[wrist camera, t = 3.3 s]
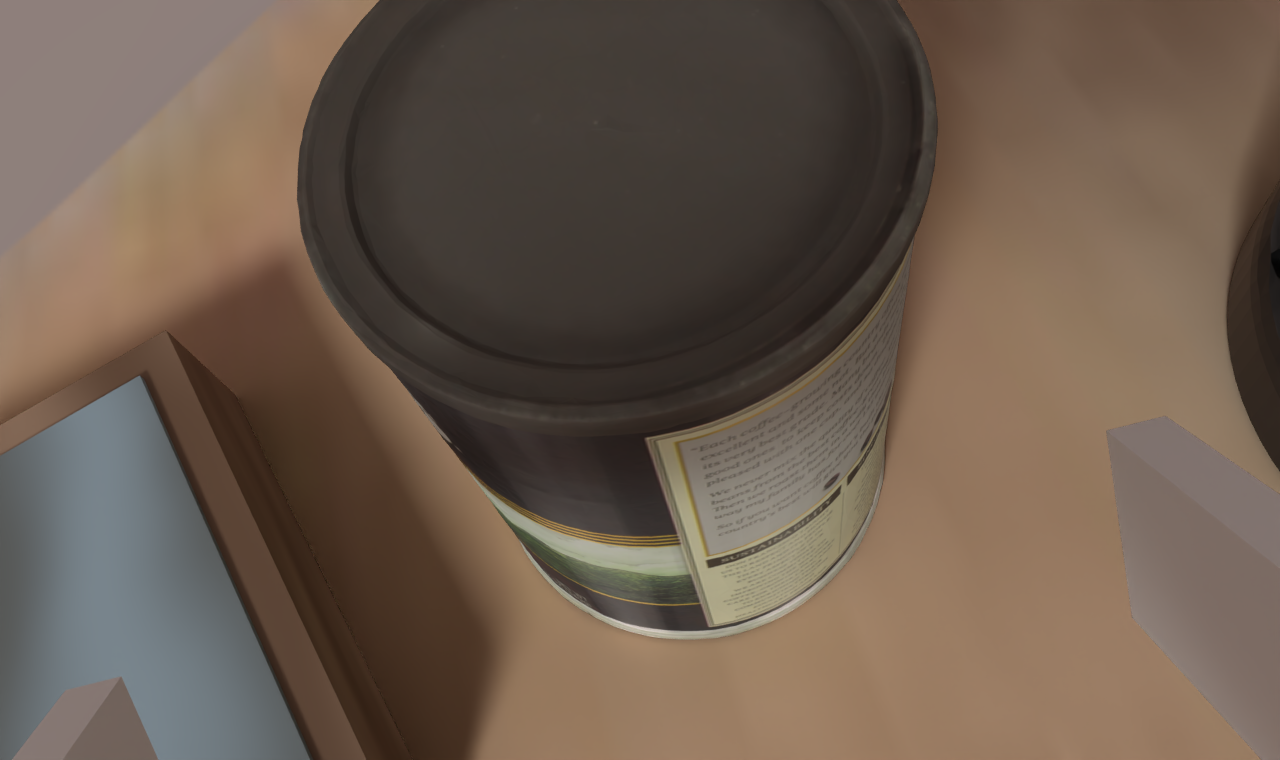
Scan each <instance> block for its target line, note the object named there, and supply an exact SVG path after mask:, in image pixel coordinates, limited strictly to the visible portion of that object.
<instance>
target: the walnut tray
mask: <svg viewBox="0 0 1280 760" xmlns="http://www.w3.org/2000/svg"><path fill="white" fill-rule="evenodd" d="M120 676H121V677H122V679H123V681H124V683H125V686H126V688H127V690H128V692H129V695H130V697H131V699H132V701H133V704H134V706H135V708H136V710H137V713H138V715H139V717H140V719H141V722H142V724H143V726H144V728H145V731H146V733H147V735H148V737H149V740H150V742H151V744H152V746H153V749H154V751H155V753H156V756H157V758H158V760H412V758H411V756H410V754H409V752H408V750H407V748H406V746H405V744H404V741H403V739H402V737H401V735H400V733H399V731H398V729H397V727H396V725H395V723H394V721H393V719H392V717H391V715H390V713H389V711H388V709H387V707H386V704H385V702H384V700H383V698H382V696H381V694H380V692H379V690H378V688H377V686H376V684H375V682H374V680H373V678H372V676H371V674H370V672H369V670H368V667H367V665H366V663H365V661H364V659H363V657H362V655H361V653H360V651H359V649H358V647H357V645H356V643H355V641H354V639H353V637H352V635H351V633H350V630H349V628H348V626H347V624H346V622H345V620H344V618H343V616H342V614H341V612H340V610H339V608H338V606H337V604H336V602H335V600H334V598H333V596H332V593H331V591H330V589H329V587H328V585H327V583H326V581H325V579H324V577H323V575H322V573H321V571H320V569H319V567H318V565H317V563H316V561H315V558H314V556H313V554H312V552H311V550H310V548H309V546H308V544H307V542H306V540H305V538H304V536H303V534H302V532H301V530H300V528H299V526H298V524H297V521H296V519H295V517H294V515H293V513H292V511H291V509H290V507H289V505H288V503H287V501H286V499H285V497H284V495H283V493H282V491H281V489H280V487H279V484H278V482H277V480H276V478H275V476H274V474H273V472H272V470H271V468H270V466H269V464H268V462H267V460H266V458H265V456H264V454H263V452H262V450H261V447H260V445H259V443H258V441H257V439H256V437H255V435H254V433H253V431H252V429H251V427H250V425H249V423H248V421H247V419H246V417H245V415H244V413H243V410H242V408H241V406H240V404H239V402H238V400H237V398H236V396H235V394H233V393H232V392H231V391H230V390H229V389H228V388H227V387H226V386H225V385H224V384H223V383H222V382H221V381H220V380H219V379H217V378H216V377H215V376H214V375H213V374H212V373H211V372H210V371H209V370H208V369H207V368H206V367H205V366H204V365H203V364H201V363H200V362H199V361H198V360H197V359H196V358H195V357H194V356H193V355H192V354H191V353H190V352H189V351H188V350H187V349H185V348H184V347H183V346H182V345H181V344H180V343H179V342H178V341H177V340H176V339H175V338H174V337H173V336H172V335H171V334H169V333H168V332H167V331H166V330H165V331H163V332H162V333H160V334H158V335H156V336H155V337H153V338H151V339H149V340H148V341H146V342H144V343H142V344H141V345H139V346H137V347H136V348H134V349H132V350H130V351H129V352H127V353H125V354H123V355H122V356H120V357H118V358H116V359H115V360H113V361H111V362H109V363H108V364H106V365H104V366H102V367H101V368H99V369H97V370H95V371H94V372H92V373H90V374H88V375H87V376H85V377H83V378H81V379H80V380H78V381H76V382H74V383H73V384H71V385H69V386H67V387H66V388H64V389H62V390H60V391H59V392H57V393H55V394H53V395H52V396H50V397H48V398H46V399H45V400H43V401H41V402H39V403H38V404H36V405H34V406H32V407H31V408H29V409H27V410H25V411H24V412H22V413H20V414H18V415H17V416H15V417H13V418H12V419H10V420H8V421H6V422H5V423H3V424H1V425H0V760H12V759H13V758H14V756H15V755H16V754H17V752H18V751H19V750H20V748H21V747H22V746H23V745H24V743H25V742H26V741H27V739H28V738H29V737H30V736H31V734H32V733H33V732H34V730H35V729H36V728H37V726H38V725H39V724H40V723H41V721H42V720H43V719H44V717H45V716H46V715H47V714H48V712H49V711H50V710H51V708H52V707H53V706H54V704H55V703H56V702H57V701H58V699H59V698H60V697H61V695H62V694H63V693H64V692H65V690H68V689H72V688H76V687H80V686H84V685H88V684H92V683H96V682H100V681H104V680H108V679H112V678H116V677H120Z"/></svg>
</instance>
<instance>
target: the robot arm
mask: <svg viewBox="0 0 1280 760" xmlns="http://www.w3.org/2000/svg"><path fill="white" fill-rule="evenodd" d="M1227 322H1228V341H1229V348H1230V356H1231V362H1232V366H1233V370H1234V375H1235V379H1236V382H1237V386H1238V389H1239V392H1240V395H1241V398H1242V401H1243V404H1244V406H1245V408H1246V411H1247V413H1248V416H1249V418H1250V421H1251V423H1252V425H1253V427H1254V429H1255V431H1256V433H1257V435H1258V437H1259V439H1260V441H1261V442H1262V444H1263V446H1264V447H1265V449H1266V451H1267V452H1268V454H1269V456H1270V458H1271V459H1272V461H1273V462H1274V464H1275V465H1276V467H1277V468H1278V469H1279V471H1280V181H1279V182H1278V184H1277V186H1276V187H1275V189H1274V190H1273V192H1272V194H1271V195H1270V197H1269V199H1268V200H1267V202H1266V204H1265V205H1264V207H1263V209H1262V210H1261V212H1260V214H1259V215H1258V217H1257V219H1256V220H1255V222H1254V224H1253V225H1252V227H1251V229H1250V231H1249V232H1248V235H1247V237H1246V239H1245V241H1244V243H1243V245H1242V248H1241V250H1240V253H1239V256H1238V259H1237V262H1236V265H1235V268H1234V272H1233V277H1232V281H1231V286H1230V293H1229V300H1228V319H1227ZM1106 432H1107V439H1108V447H1109V454H1110V461H1111V468H1112V476H1113V483H1114V490H1115V497H1116V505H1117V512H1118V519H1119V526H1120V534H1121V541H1122V548H1123V555H1124V563H1125V570H1126V577H1127V584H1128V592H1129V599H1130V606H1131V613H1132V618H1133V619H1134V620H1135V621H1136V622H1137V624H1138V625H1139V626H1140V627H1141V628H1142V629H1143V630H1144V631H1145V632H1146V633H1147V635H1148V636H1149V637H1150V638H1151V639H1152V640H1153V641H1154V642H1155V643H1156V644H1157V646H1158V647H1159V648H1160V649H1161V650H1162V651H1163V652H1164V653H1165V654H1166V655H1167V656H1168V658H1169V659H1170V660H1171V661H1172V662H1173V663H1174V664H1175V665H1176V666H1177V667H1178V669H1179V670H1180V671H1181V672H1182V673H1183V674H1184V675H1185V676H1186V677H1187V678H1188V680H1189V681H1190V682H1191V683H1192V684H1193V685H1194V686H1195V687H1196V688H1197V689H1198V691H1199V692H1200V693H1201V694H1202V695H1203V696H1204V697H1205V698H1206V699H1207V700H1208V702H1209V703H1210V704H1211V705H1212V706H1213V707H1214V708H1215V709H1216V710H1217V711H1218V713H1219V714H1220V715H1221V716H1222V717H1223V718H1224V719H1225V720H1226V721H1227V722H1228V724H1229V725H1230V726H1231V727H1232V728H1233V729H1234V730H1235V731H1236V732H1237V733H1238V735H1239V736H1240V737H1241V738H1242V739H1243V740H1244V741H1245V742H1246V743H1247V744H1248V746H1249V747H1250V748H1251V749H1252V750H1253V751H1254V752H1255V753H1256V754H1257V755H1258V757H1259V758H1260V759H1261V760H1280V494H1278V493H1277V492H1275V491H1274V490H1272V489H1271V488H1270V487H1268V486H1267V485H1265V484H1264V483H1262V482H1261V481H1259V480H1258V479H1256V478H1255V477H1254V476H1252V475H1251V474H1249V473H1248V472H1246V471H1245V470H1243V469H1242V468H1240V467H1239V466H1238V465H1236V464H1235V463H1233V462H1232V461H1230V460H1229V459H1227V458H1226V457H1224V456H1223V455H1222V454H1220V453H1219V452H1217V451H1216V450H1214V449H1213V448H1211V447H1210V446H1208V445H1207V444H1206V443H1204V442H1203V441H1201V440H1200V439H1198V438H1197V437H1195V436H1194V435H1192V434H1191V433H1190V432H1188V431H1187V430H1185V429H1184V428H1182V427H1181V426H1179V425H1178V424H1176V423H1175V422H1174V421H1172V420H1171V419H1169V418H1168V417H1166V416H1163V417H1159V418H1155V419H1151V420H1147V421H1143V422H1139V423H1135V424H1131V425H1127V426H1123V427H1119V428H1115V429H1111V430H1107V431H1106ZM12 760H158V758H157V756H156V753H155V751H154V749H153V746H152V744H151V742H150V740H149V737H148V735H147V733H146V731H145V728H144V726H143V724H142V722H141V719H140V717H139V715H138V713H137V710H136V708H135V706H134V704H133V701H132V699H131V697H130V695H129V692H128V690H127V688H126V686H125V683H124V681H123V679H122V677H121V676H120V677H116V678H112V679H108V680H104V681H100V682H96V683H92V684H88V685H84V686H80V687H76V688H72V689H68V690H65V692H64V693H63V694H62V695H61V697H60V698H59V699H58V701H57V702H56V703H55V704H54V706H53V707H52V708H51V710H50V711H49V712H48V714H47V715H46V716H45V717H44V719H43V720H42V721H41V723H40V724H39V725H38V726H37V728H36V729H35V730H34V732H33V733H32V734H31V736H30V737H29V738H28V739H27V741H26V742H25V743H24V745H23V746H22V747H21V748H20V750H19V751H18V752H17V754H16V755H15V756H14V758H13V759H12Z"/></svg>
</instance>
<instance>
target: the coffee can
mask: <svg viewBox="0 0 1280 760" xmlns="http://www.w3.org/2000/svg"><path fill="white" fill-rule="evenodd" d="M937 132H938V120H937V111H936V98H935V92H934V86H933V81H932V76H931V72H930V68H929V64H928V61H927V58H926V55H925V52H924V50H923V47H922V45H921V42H920V40H919V38H918V36H917V33H916V31H915V30H914V28H913V26H912V24H911V22H910V21H909V19H908V17H907V16H906V14H905V13H904V11H903V9H902V8H901V6H900V5H899V3H898V2H897V0H380V1H379V2H378V3H377V4H376V5H375V6H374V7H373V8H372V9H371V11H370V12H369V13H368V14H367V15H366V16H365V17H364V18H363V19H362V20H361V22H360V23H359V24H358V25H357V27H356V28H355V29H354V30H353V32H352V33H351V34H350V36H349V37H348V38H347V39H346V41H345V42H344V44H343V45H342V47H341V48H340V49H339V51H338V52H337V54H336V55H335V57H334V58H333V60H332V62H331V63H330V65H329V67H328V69H327V70H326V72H325V74H324V76H323V77H322V80H321V82H320V85H319V87H318V90H317V92H316V94H315V96H314V98H313V100H312V103H311V106H310V110H309V113H308V116H307V119H306V123H305V126H304V129H303V137H302V141H301V145H300V151H299V163H298V187H297V201H298V207H299V216H300V226H301V233H302V236H303V240H304V243H305V246H306V250H307V253H308V256H309V258H310V260H311V263H312V265H313V268H314V270H315V273H316V275H317V277H318V279H319V281H320V284H321V286H322V288H323V290H324V292H325V293H326V295H327V296H328V298H329V299H330V301H331V302H332V304H333V305H334V307H335V308H336V310H337V311H338V313H339V314H340V316H341V317H342V318H343V319H344V321H345V322H346V323H347V324H348V325H349V327H350V328H351V329H352V330H353V331H354V333H355V334H356V335H357V336H358V337H359V338H360V340H361V341H362V342H363V343H364V344H365V345H366V346H367V348H368V349H369V350H370V351H371V352H372V353H373V354H374V355H375V356H377V357H378V358H379V359H380V360H381V361H382V362H383V363H385V364H386V365H387V366H388V367H389V368H390V369H391V370H392V371H393V373H394V374H395V375H396V376H397V378H398V379H399V380H400V381H401V383H402V384H403V385H404V386H405V388H406V389H407V390H408V392H409V393H410V394H411V396H412V397H413V399H414V400H415V401H416V403H417V404H418V405H419V407H420V408H421V409H422V411H423V412H424V414H425V415H426V416H427V418H428V419H429V420H430V422H431V423H432V424H433V426H434V427H435V428H436V430H437V431H438V432H439V434H440V435H441V436H442V438H443V439H444V440H445V442H446V443H447V444H448V445H449V446H450V448H451V449H452V450H453V451H454V453H455V454H456V455H457V457H458V458H459V459H460V461H461V462H462V463H463V465H464V466H465V467H466V469H467V470H468V472H469V473H470V474H471V476H472V477H473V478H474V480H475V481H476V482H477V484H478V485H479V486H480V488H481V489H482V490H483V492H484V493H485V494H486V496H487V497H488V498H489V499H490V501H491V502H492V503H493V505H494V506H495V508H496V509H497V511H498V512H499V514H500V515H501V516H502V518H503V519H504V520H505V522H506V523H507V524H508V526H509V527H510V528H511V529H512V530H513V532H514V533H515V535H516V536H517V538H518V539H519V541H520V543H521V545H522V547H523V549H524V551H525V553H526V554H527V556H528V557H529V559H530V560H531V562H532V563H533V565H534V566H535V567H536V568H537V570H538V571H539V572H540V573H541V574H542V576H543V577H544V578H545V579H546V580H547V581H548V582H549V583H550V584H551V585H552V586H553V587H554V588H555V589H556V590H557V591H558V592H559V593H560V594H561V595H562V596H563V597H564V598H565V599H567V600H568V601H569V602H571V603H572V604H574V605H575V606H577V607H578V608H580V609H581V610H583V611H584V612H586V613H588V614H590V615H591V616H593V617H595V618H597V619H599V620H601V621H603V622H605V623H607V624H610V625H612V626H614V627H617V628H620V629H623V630H626V631H630V632H634V633H637V634H641V635H645V636H650V637H657V638H667V639H689V640H698V639H710V638H719V637H725V636H730V635H735V634H739V633H742V632H745V631H748V630H751V629H754V628H757V627H759V626H762V625H764V624H767V623H770V622H772V621H774V620H776V619H778V618H780V617H782V616H784V615H785V614H787V613H789V612H791V611H792V610H794V609H796V608H797V607H799V606H800V605H802V604H803V603H805V602H806V601H807V600H809V599H810V598H811V597H812V596H814V595H815V594H816V593H817V592H819V591H820V590H821V589H822V588H823V587H824V586H825V585H827V584H828V583H829V582H830V581H831V580H832V579H833V578H834V577H835V576H836V574H837V573H838V572H839V571H840V570H841V569H842V568H843V567H844V565H845V564H846V563H847V562H848V561H849V560H850V559H851V557H852V556H853V554H854V553H855V551H856V549H857V548H858V546H859V545H860V543H861V541H862V539H863V537H864V534H865V532H866V530H867V528H868V526H869V524H870V522H871V520H872V518H873V515H874V513H875V509H876V506H877V503H878V499H879V495H880V490H881V487H882V484H883V475H884V463H885V444H884V443H885V436H886V429H887V422H888V415H889V407H890V400H891V392H892V386H893V382H894V376H895V368H896V359H897V352H898V344H899V337H900V331H901V324H902V317H903V310H904V304H905V297H906V291H907V284H908V278H909V270H910V262H911V255H912V249H913V242H914V236H915V233H916V231H917V228H918V226H919V223H920V220H921V217H922V214H923V211H924V208H925V205H926V201H927V198H928V195H929V191H930V186H931V181H932V176H933V171H934V166H935V155H936V143H937Z"/></svg>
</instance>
